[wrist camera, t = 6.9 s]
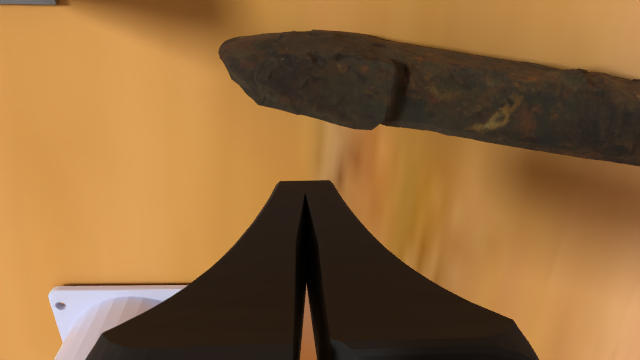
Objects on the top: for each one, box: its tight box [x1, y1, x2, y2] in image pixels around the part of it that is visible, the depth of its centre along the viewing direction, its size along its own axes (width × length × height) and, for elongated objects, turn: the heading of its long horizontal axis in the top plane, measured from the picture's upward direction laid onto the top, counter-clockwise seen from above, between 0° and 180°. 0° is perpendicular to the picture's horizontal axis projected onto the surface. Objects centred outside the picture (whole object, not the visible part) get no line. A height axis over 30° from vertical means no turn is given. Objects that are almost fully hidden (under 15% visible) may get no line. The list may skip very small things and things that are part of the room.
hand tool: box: [219, 30, 640, 166], centre depth 18 cm, size 19×4×5 cm, turn 77°
